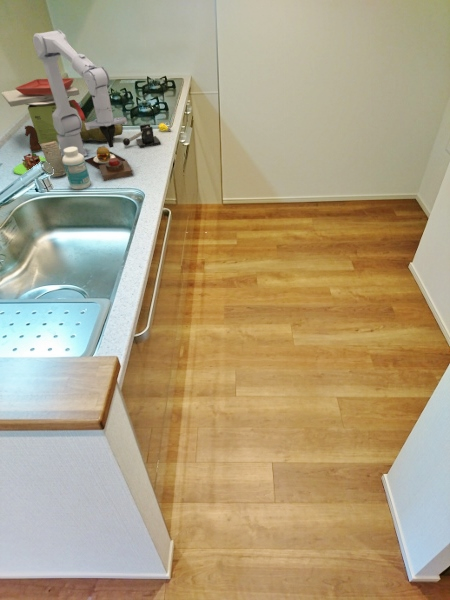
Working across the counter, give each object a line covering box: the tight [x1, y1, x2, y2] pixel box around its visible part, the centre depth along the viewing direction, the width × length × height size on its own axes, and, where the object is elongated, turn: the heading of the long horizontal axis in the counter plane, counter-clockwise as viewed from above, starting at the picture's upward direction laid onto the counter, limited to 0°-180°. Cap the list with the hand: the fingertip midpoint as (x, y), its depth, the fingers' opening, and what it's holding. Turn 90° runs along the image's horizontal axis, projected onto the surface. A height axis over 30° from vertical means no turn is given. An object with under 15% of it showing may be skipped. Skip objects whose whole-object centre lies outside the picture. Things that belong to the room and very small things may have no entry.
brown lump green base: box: [13, 152, 46, 176], centre depth 157 cm, size 15×15×6 cm
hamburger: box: [85, 146, 126, 171], centre depth 161 cm, size 12×12×6 cm
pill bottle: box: [62, 147, 92, 190], centre depth 142 cm, size 8×7×14 cm
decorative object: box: [68, 99, 86, 121], centre depth 184 cm, size 14×4×15 cm
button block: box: [98, 160, 134, 182], centre depth 152 cm, size 11×10×4 cm
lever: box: [122, 126, 148, 147], centre depth 172 cm, size 13×3×3 cm, turn 113°
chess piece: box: [24, 125, 42, 153], centre depth 170 cm, size 5×5×10 cm
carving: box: [40, 141, 66, 177], centre depth 150 cm, size 6×8×12 cm
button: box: [109, 158, 119, 166], centre depth 151 cm, size 4×4×2 cm
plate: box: [24, 97, 70, 106], centre depth 173 cm, size 21×21×2 cm
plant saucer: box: [14, 77, 75, 95], centre depth 169 cm, size 18×18×3 cm
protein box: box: [27, 104, 60, 145], centre depth 177 cm, size 10×15×16 cm
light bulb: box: [158, 122, 172, 132], centre depth 186 cm, size 3×6×4 cm
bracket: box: [135, 123, 162, 149], centre depth 174 cm, size 9×8×7 cm
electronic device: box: [0, 85, 81, 107], centre depth 173 cm, size 29×20×2 cm
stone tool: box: [80, 116, 124, 142], centre depth 177 cm, size 20×9×10 cm
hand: (111, 146), depth 148 cm, fingers closed
